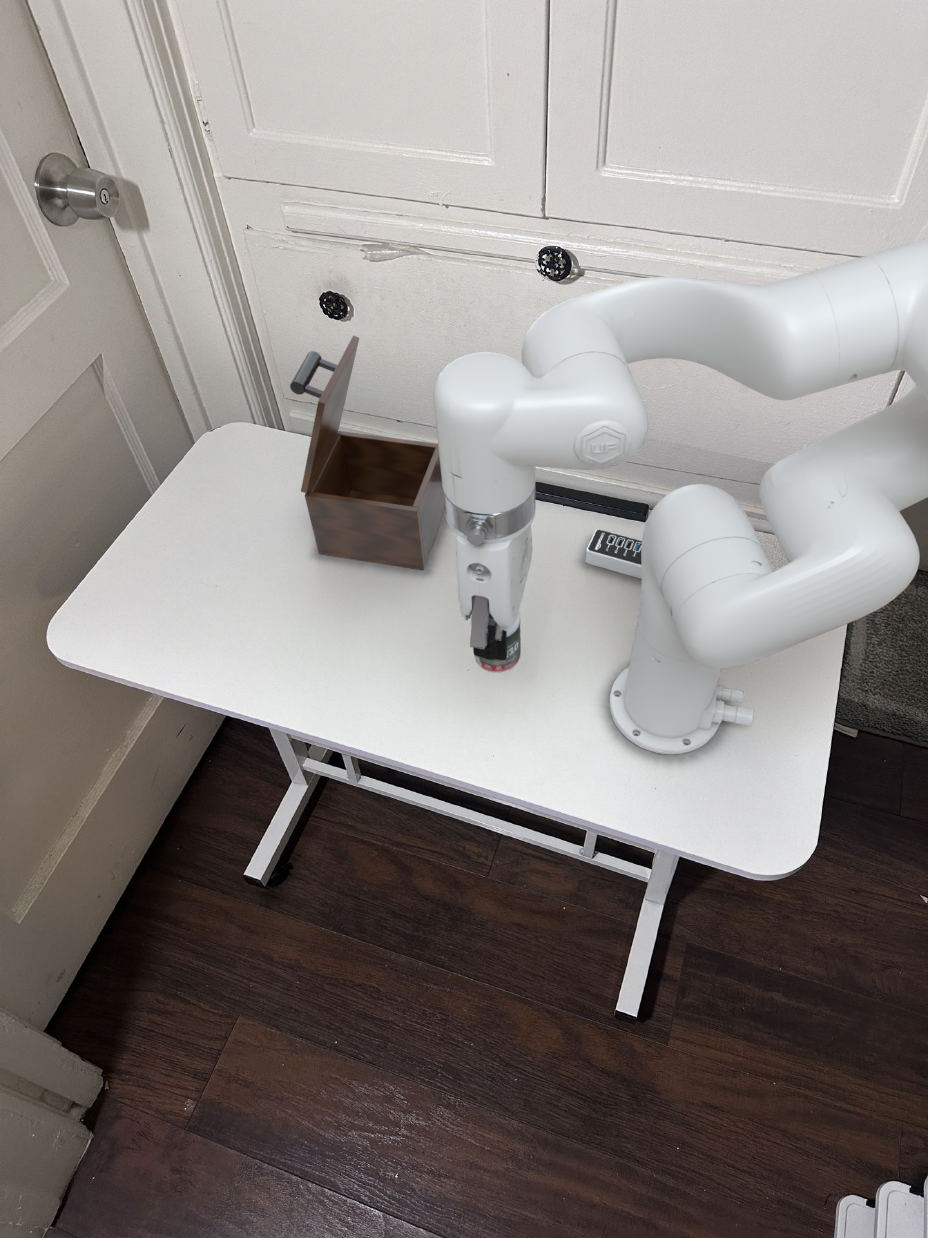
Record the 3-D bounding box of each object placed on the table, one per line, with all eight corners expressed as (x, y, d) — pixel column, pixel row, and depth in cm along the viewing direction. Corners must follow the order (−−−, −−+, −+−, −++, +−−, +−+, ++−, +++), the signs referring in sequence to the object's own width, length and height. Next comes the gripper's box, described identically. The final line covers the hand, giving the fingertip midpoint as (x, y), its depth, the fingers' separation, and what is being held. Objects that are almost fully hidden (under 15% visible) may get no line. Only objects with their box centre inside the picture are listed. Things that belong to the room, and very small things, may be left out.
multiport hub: (693, 593, 116) (696, 581, 114) (584, 562, 120) (585, 550, 118) (702, 569, 118) (705, 557, 116) (595, 539, 122) (596, 527, 120)
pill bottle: (481, 679, 91) (477, 628, 84) (468, 643, 94) (463, 590, 87) (527, 667, 91) (526, 615, 85) (512, 631, 94) (511, 578, 88)
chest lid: (359, 337, 109) (319, 321, 109) (324, 403, 102) (282, 387, 101) (339, 428, 121) (303, 414, 121) (306, 494, 114) (268, 479, 114)
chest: (447, 504, 128) (443, 444, 119) (423, 570, 120) (417, 511, 112) (348, 489, 130) (336, 430, 122) (318, 554, 123) (304, 495, 114)
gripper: (514, 582, 70) (517, 712, 84) (552, 435, 80) (549, 573, 94) (418, 568, 71) (438, 698, 85) (468, 426, 81) (478, 564, 95)
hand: (496, 632), depth 89 cm, fingers closed on pill bottle, 4 cm apart
